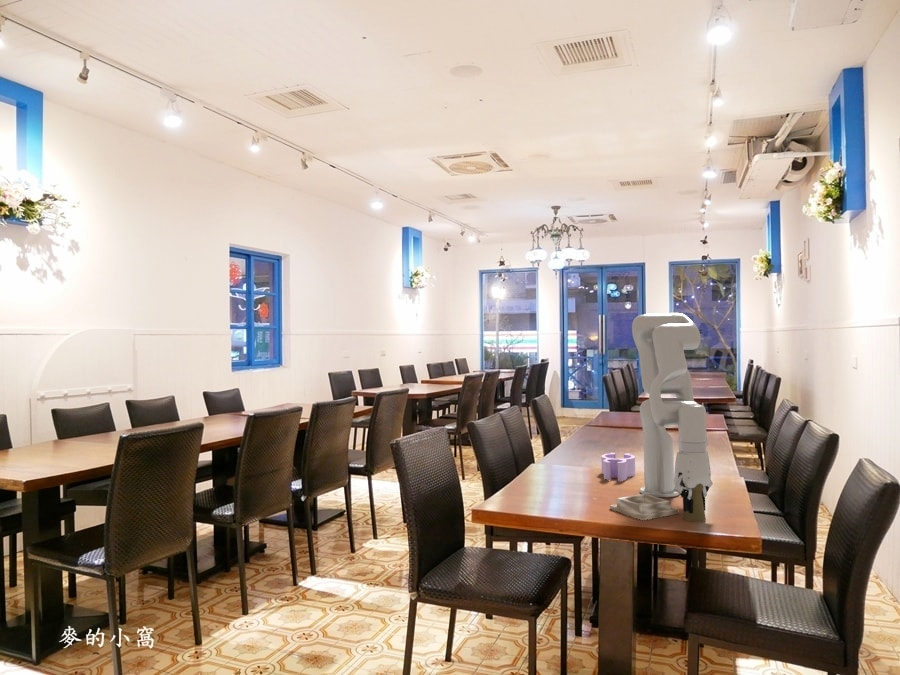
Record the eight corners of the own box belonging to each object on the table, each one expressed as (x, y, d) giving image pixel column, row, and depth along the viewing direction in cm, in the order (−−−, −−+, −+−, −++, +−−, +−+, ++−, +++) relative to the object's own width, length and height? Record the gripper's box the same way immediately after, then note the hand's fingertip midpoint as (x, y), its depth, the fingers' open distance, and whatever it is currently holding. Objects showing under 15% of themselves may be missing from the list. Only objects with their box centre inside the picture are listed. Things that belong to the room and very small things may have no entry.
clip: (631, 482, 230) (631, 463, 230) (596, 480, 235) (596, 461, 235) (637, 471, 249) (636, 453, 249) (604, 469, 254) (604, 452, 254)
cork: (683, 520, 182) (682, 482, 182) (683, 515, 187) (682, 477, 187) (706, 522, 179) (705, 483, 179) (705, 516, 185) (704, 478, 185)
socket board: (644, 503, 201) (644, 492, 201) (678, 513, 189) (678, 501, 189) (609, 509, 195) (609, 497, 195) (642, 520, 183) (642, 508, 183)
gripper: (703, 442, 190) (704, 504, 190) (661, 448, 183) (662, 512, 183) (724, 446, 184) (725, 510, 184) (681, 452, 176) (682, 518, 176)
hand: (694, 510), depth 183 cm, fingers closed on cork, 4 cm apart
